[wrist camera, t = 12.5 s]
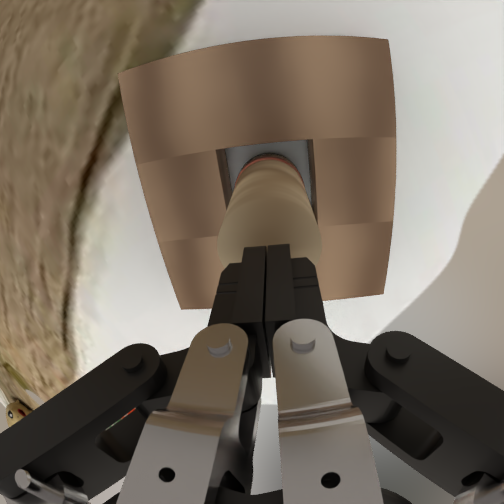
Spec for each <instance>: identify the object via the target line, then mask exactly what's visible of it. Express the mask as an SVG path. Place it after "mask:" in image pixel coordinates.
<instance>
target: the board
mask: <svg viewBox="0 0 504 504" xmlns="http://www.w3.org/2000/svg"><path fill="white" fill-rule="evenodd" d="M118 78H119V84H120V90H121V96H122V101H123V106H124V112H125V117H126V122H127V126H128V131H129V136H130V140H131V145H132V149H133V153H134V157H135V162H136V166H137V170H138V174H139V178H140V181H141V185H142V189H143V193H144V196H145V200H146V204H147V207H148V211H149V214H150V217H151V221H152V224H153V228H154V231H155V234H156V237H157V241H158V244H159V247H160V250H161V253H162V256H163V259H164V262H165V265H166V268H167V271H168V274H169V277H170V280H171V283H172V286H173V288H174V291H175V294H176V297H177V300H178V302H179V305H180V308H181V310H182V309H211V308H212V307H213V303H214V299H215V295H216V291H217V287H218V285H219V284H218V283H219V279H220V275H221V272H222V271H223V270H224V269H225V268H224V267H223V265H222V263H221V261H220V258H219V255H218V250H217V240H218V235H219V232H220V229H221V226H222V223H223V220H224V217H225V214H226V211H227V208H228V205H229V202H230V200H231V197H232V190H231V184H230V178H229V172H228V166H227V160H226V154H225V148H230V147H237V146H245V145H253V144H262V143H272V142H282V141H294V140H307V144H308V155H309V168H310V182H311V199H312V210H313V213H314V216H315V219H316V222H317V225H318V228H319V231H320V235H321V240H322V251H321V255H320V258H319V261H318V263H317V265H316V267H315V268H316V273H317V278H318V282H319V287H320V292H321V297H322V301H326V300H336V299H346V298H355V297H364V296H372V295H380V294H383V293H384V287H385V281H386V275H387V268H388V261H389V254H390V246H391V237H392V227H393V216H394V202H395V184H396V114H395V96H394V84H393V73H392V64H391V56H390V48H389V42H388V39H379V38H368V37H353V36H293V37H278V38H267V39H258V40H249V41H242V42H235V43H229V44H223V45H218V46H212V47H207V48H203V49H198V50H194V51H189V52H185V53H181V54H177V55H173V56H170V57H166V58H163V59H159V60H156V61H152V62H149V63H146V64H143V65H140V66H137V67H134V68H131V69H128V70H126V71H123V72H120V73H118Z"/></svg>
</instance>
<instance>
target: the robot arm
mask: <svg viewBox="0 0 504 504" xmlns="http://www.w3.org/2000/svg"><path fill="white" fill-rule="evenodd" d="M218 284H219V285H218V287H217V291H216V295H215V299H214V303H213V307H212V311H211V315H210V319H209V323H208V327H206V328H204V329H203V330H201V331H200V332H199V333H198V334H197V335H196V336H195V337H194V338H193V340H192V342H191V345H190V347H189V348H186V349H184V350H181V351H177V352H173V353H168V354H164V355H159V354H158V352H157V350H156V349H155V348H154V347H152V346H151V345H148V344H143V343H138V344H132V345H129V346H127V347H125V348H123V349H122V350H120V351H119V352H117V353H116V354H114V355H113V356H112V357H110V358H109V359H107V360H106V361H104V362H103V363H102V364H100V365H99V366H97V367H96V368H94V369H93V370H91V371H90V372H89V373H87V374H86V375H84V376H83V377H81V378H80V379H79V380H77V381H76V382H74V383H73V384H71V385H70V386H68V387H67V388H66V389H64V390H63V391H61V392H60V393H58V394H57V395H56V396H54V397H53V398H51V399H50V400H48V401H47V402H45V403H44V404H43V405H41V406H40V407H38V408H37V409H35V410H34V411H32V412H31V413H29V414H28V415H27V416H25V417H24V418H22V419H21V420H19V421H18V422H16V423H15V424H14V425H12V426H11V427H9V428H8V429H6V430H5V431H3V432H2V433H0V494H1V495H3V496H4V498H5V499H6V502H7V504H91V503H89V502H88V501H89V500H90V499H92V498H93V497H95V496H96V495H98V494H100V493H101V492H102V491H104V490H105V489H107V488H109V487H110V486H112V485H113V484H114V483H116V482H118V481H119V480H120V479H122V478H123V477H125V476H126V477H125V480H124V482H123V485H122V488H121V491H120V492H119V493H117V494H116V495H114V496H113V497H112V498H110V499H109V500H107V501H106V502H105V503H103V504H412V503H411V502H410V501H408V500H407V499H405V498H404V497H402V496H400V495H398V494H397V493H394V492H392V491H389V490H387V489H383V488H380V484H379V479H378V475H377V470H376V465H375V461H374V457H373V452H372V449H371V444H370V440H369V436H368V434H369V435H370V436H371V437H372V438H374V439H375V440H376V441H378V442H379V443H380V444H381V445H383V446H384V447H385V448H387V449H388V450H389V451H390V452H392V453H393V454H395V455H396V456H397V457H398V458H400V459H401V460H403V461H404V462H405V463H407V464H408V465H409V466H411V467H412V468H414V469H415V470H416V471H418V472H419V473H420V474H422V475H423V476H425V477H426V478H428V479H429V480H431V481H432V482H433V483H435V484H436V485H438V486H439V487H441V488H442V489H444V490H445V491H447V492H448V493H450V494H451V495H453V496H454V497H455V500H454V502H453V504H504V391H503V390H501V389H500V388H498V387H496V386H495V385H493V384H491V383H490V382H488V381H487V380H485V379H483V378H482V377H480V376H479V375H477V374H475V373H474V372H472V371H470V370H469V369H467V368H465V367H464V366H462V365H461V364H459V363H457V362H456V361H454V360H452V359H451V358H449V357H447V356H446V355H444V354H443V353H441V352H439V351H438V350H436V349H434V348H433V347H431V346H429V345H428V344H426V343H424V342H423V341H421V340H419V339H418V338H416V337H414V336H413V335H411V334H408V333H406V332H401V331H390V332H385V333H383V334H380V335H379V336H377V337H376V338H375V339H374V340H373V341H372V342H371V344H366V343H359V342H352V341H348V340H345V339H342V338H340V337H339V336H337V335H336V334H334V333H333V332H332V331H331V330H330V328H329V327H328V325H327V322H326V318H325V312H324V307H323V302H322V297H321V292H320V287H319V282H318V278H317V273H316V268H315V265H314V264H313V263H312V262H311V261H310V260H309V259H308V258H307V257H301V258H291V254H290V244H277V245H268V248H267V247H266V246H254V247H244V250H243V256H242V262H240V263H229V265H228V266H227V267H226V268H225V269H224V270H223V271H222V272H221V275H220V279H219V283H218ZM271 366H272V373H273V377H275V378H276V391H277V403H278V415H279V416H278V428H279V443H280V457H281V472H282V487H283V489H281V490H277V491H273V492H268V493H263V494H258V495H250V494H251V488H252V481H253V453H254V447H255V441H256V434H257V428H258V421H259V413H260V407H261V392H262V378H271ZM134 408H136V409H135V410H133V409H134ZM132 410H133V411H132ZM130 411H132V412H131V413H129V412H130ZM128 413H129V414H128ZM126 414H128V415H127V416H125V415H126ZM124 416H125V417H124ZM122 417H124V418H123V419H121V418H122ZM119 419H121V420H120V421H119V422H117V421H118V420H119ZM115 422H117V423H116V424H114V423H115ZM113 424H114V425H113ZM111 425H113V426H112V427H110V426H111ZM108 427H110V428H109V429H107V428H108ZM106 429H107V430H106Z"/></svg>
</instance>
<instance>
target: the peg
mask: <svg viewBox="0 0 504 504" xmlns="http://www.w3.org/2000/svg"><path fill="white" fill-rule="evenodd" d="M277 244H290V254H291V258H301V257H307V258H308V259H309V260H310V261H311V262H312V263H313V264H314V265H315V267H316V265H317V263H318V261H319V258H320V255H321V251H322V240H321V235H320V231H319V228H318V225H317V222H316V219H315V216H314V213H313V210H312V208H311V205H310V202H309V199H308V196H307V193H306V190H305V187H304V183H303V180H302V177H301V175H300V173H299V172H298V170H297V168H296V167H295V165H294V164H293V163H292V162H291V161H289V160H288V159H286V158H284V157H282V156H280V155H276V154H263V155H259V156H257V157H254V158H253V159H251V160H250V161H248V162H247V163H246V164H245V165H244V167H243V168H242V170H241V172H240V173H239V175H238V177H237V180H236V183H235V188H234V191H233V194H232V197H231V200H230V202H229V205H228V208H227V211H226V214H225V217H224V220H223V223H222V226H221V229H220V232H219V235H218V240H217V250H218V255H219V258H220V261H221V263H222V265H223V267H224V268H226V267H227V266H228V265H229V263H240V262H242V256H243V250H244V247H254V246H266V247H267V248H268V245H277Z"/></svg>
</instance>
